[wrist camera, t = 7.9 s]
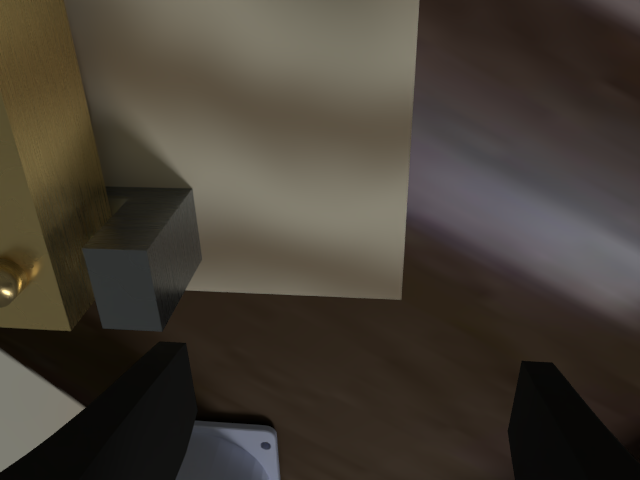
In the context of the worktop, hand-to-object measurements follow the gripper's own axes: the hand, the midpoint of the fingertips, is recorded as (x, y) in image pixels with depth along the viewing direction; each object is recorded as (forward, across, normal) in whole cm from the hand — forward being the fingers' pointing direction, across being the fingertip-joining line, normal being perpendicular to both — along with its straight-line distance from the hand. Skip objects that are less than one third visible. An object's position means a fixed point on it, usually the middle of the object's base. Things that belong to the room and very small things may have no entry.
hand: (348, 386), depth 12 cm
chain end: (+9, +10, +1) cm, 14 cm away
